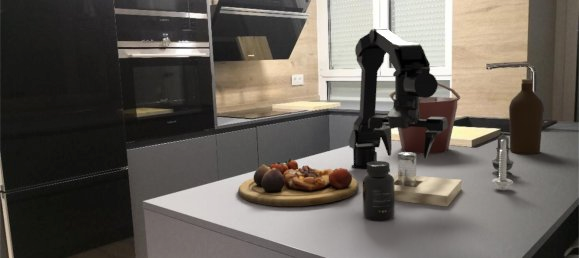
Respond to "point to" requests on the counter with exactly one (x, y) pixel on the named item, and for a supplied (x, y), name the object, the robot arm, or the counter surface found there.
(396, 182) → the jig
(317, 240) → the counter surface
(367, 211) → the supplement bottle
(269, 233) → the counter surface
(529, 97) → the olive oil
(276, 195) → the wooden plate with food
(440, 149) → the bucket
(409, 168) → the grey cylindrical piece
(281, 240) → the counter surface
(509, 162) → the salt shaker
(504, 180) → the screw
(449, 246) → the counter surface
